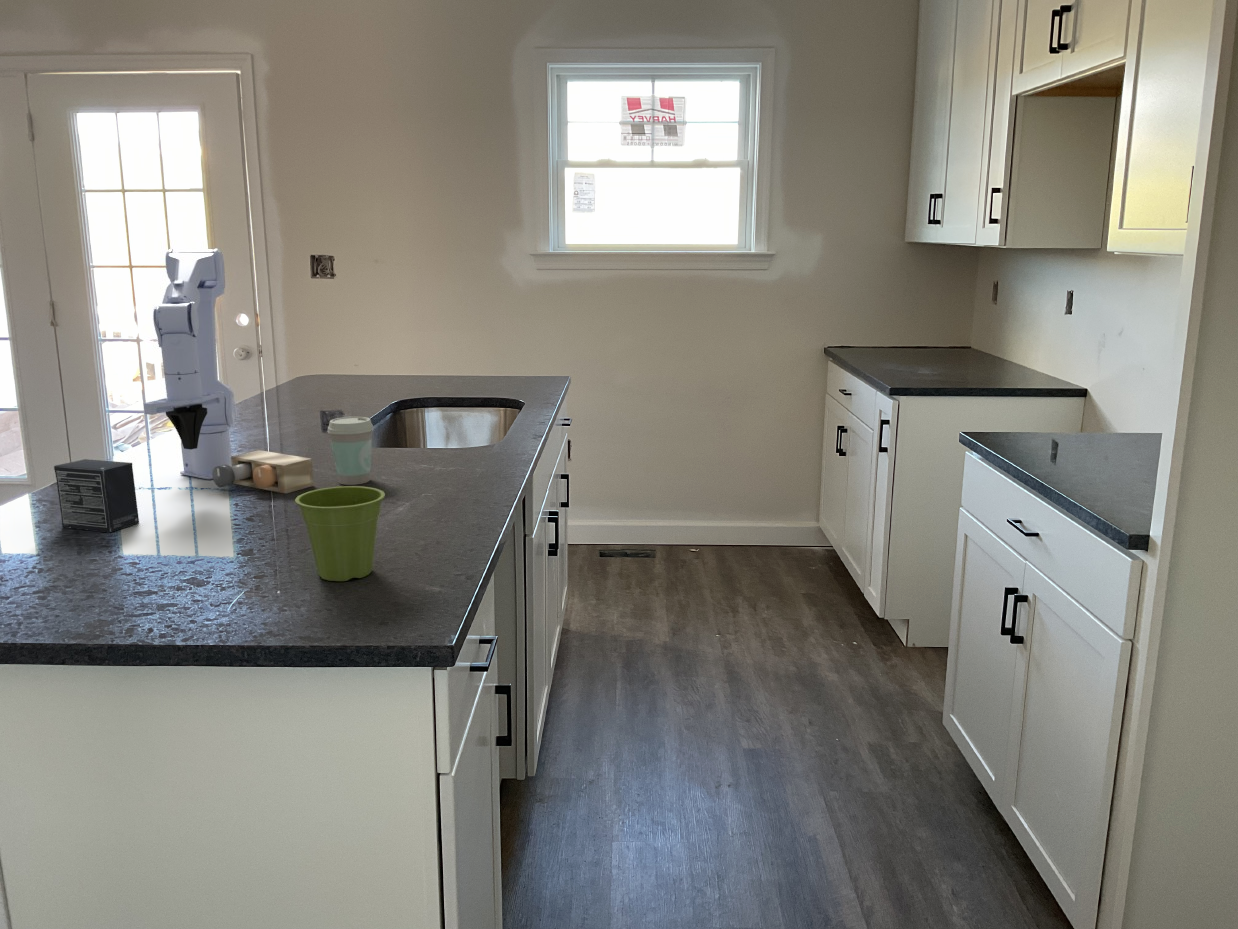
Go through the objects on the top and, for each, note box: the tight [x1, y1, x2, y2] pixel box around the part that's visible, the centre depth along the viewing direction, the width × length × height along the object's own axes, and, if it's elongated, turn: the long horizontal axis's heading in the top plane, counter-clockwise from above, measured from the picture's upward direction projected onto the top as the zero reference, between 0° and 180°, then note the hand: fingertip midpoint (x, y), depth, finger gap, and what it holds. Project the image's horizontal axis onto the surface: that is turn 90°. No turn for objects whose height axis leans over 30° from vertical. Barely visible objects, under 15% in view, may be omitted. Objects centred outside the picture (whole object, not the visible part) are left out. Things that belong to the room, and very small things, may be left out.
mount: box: [231, 449, 314, 494], centre depth 184 cm, size 15×6×5 cm, turn 58°
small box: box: [53, 458, 140, 533], centre depth 158 cm, size 11×6×10 cm, turn 71°
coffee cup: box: [327, 416, 375, 486], centre depth 185 cm, size 9×8×12 cm
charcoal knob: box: [212, 462, 253, 488], centre depth 181 cm, size 7×4×4 cm, turn 148°
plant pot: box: [294, 485, 386, 582], centre depth 134 cm, size 12×12×11 cm
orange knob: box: [253, 465, 278, 489], centre depth 180 cm, size 7×4×4 cm, turn 148°
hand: (190, 448), depth 173 cm, fingers closed
